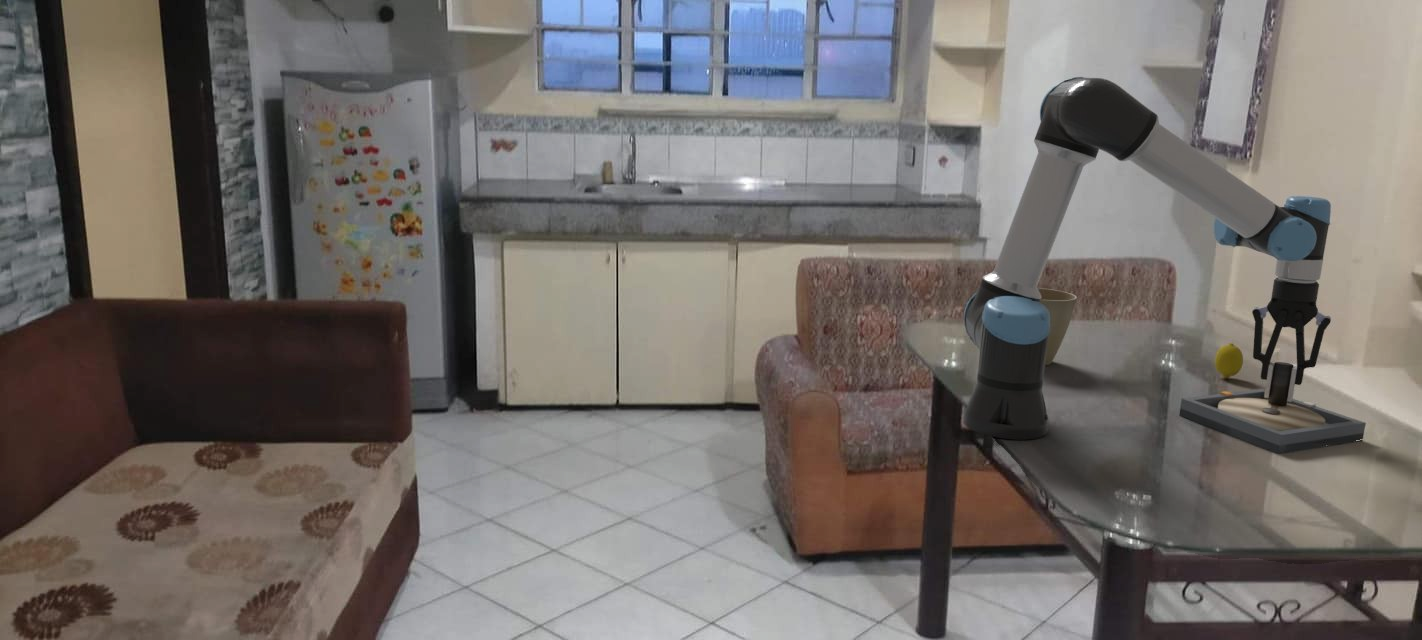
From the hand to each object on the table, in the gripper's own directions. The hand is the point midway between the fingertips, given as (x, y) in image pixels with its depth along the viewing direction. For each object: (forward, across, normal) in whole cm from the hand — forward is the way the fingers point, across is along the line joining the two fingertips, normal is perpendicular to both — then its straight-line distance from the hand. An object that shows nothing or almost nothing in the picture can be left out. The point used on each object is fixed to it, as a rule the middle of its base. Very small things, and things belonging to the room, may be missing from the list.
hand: (1278, 397), depth 203 cm
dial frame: (+4, +1, +7) cm, 8 cm away
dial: (+3, +1, +7) cm, 7 cm away
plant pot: (+4, +50, -13) cm, 52 cm away
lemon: (+5, +12, -26) cm, 29 cm away
